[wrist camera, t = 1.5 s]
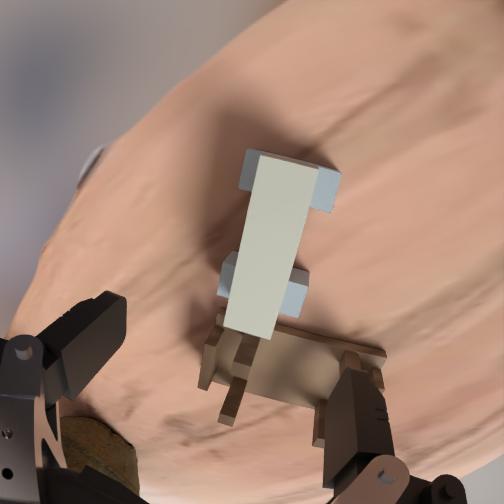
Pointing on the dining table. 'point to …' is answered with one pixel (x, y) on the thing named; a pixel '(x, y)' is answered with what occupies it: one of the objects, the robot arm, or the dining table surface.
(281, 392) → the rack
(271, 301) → the white rectangular block
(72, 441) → the clay pot
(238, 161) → the dining table surface
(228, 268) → the pair of grey blocks
